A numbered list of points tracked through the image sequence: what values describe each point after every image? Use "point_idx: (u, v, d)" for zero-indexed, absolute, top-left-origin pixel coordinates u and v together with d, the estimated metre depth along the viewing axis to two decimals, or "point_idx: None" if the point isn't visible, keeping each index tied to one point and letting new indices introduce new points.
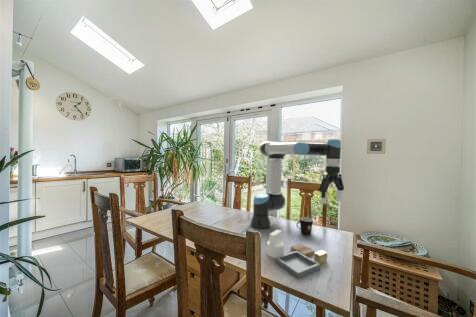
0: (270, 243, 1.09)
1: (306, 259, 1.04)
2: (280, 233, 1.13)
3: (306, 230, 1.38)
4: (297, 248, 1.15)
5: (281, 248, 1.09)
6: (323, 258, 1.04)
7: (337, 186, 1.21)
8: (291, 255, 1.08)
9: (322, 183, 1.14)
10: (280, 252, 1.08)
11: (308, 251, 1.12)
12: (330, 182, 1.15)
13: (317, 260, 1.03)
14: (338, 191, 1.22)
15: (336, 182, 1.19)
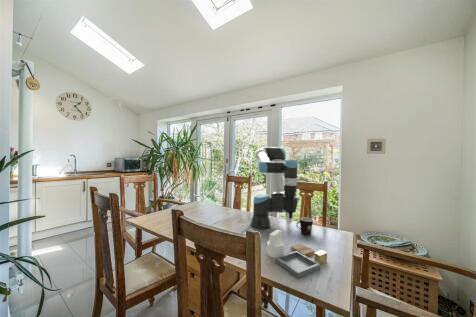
0: (270, 243, 1.09)
1: (306, 259, 1.04)
2: (280, 233, 1.13)
3: (306, 230, 1.38)
4: (297, 248, 1.15)
5: (281, 248, 1.09)
6: (323, 258, 1.04)
7: None
8: (291, 255, 1.08)
9: None
10: (280, 252, 1.08)
11: (308, 251, 1.12)
12: (286, 200, 1.24)
13: (317, 260, 1.03)
14: None
15: None
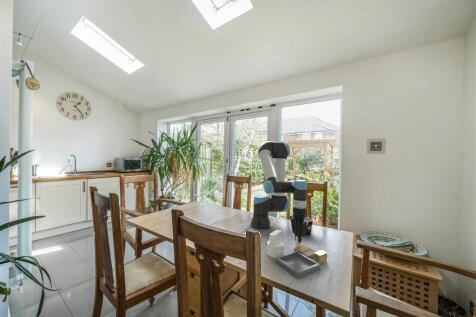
0: (270, 243, 1.09)
1: (306, 259, 1.04)
2: (280, 233, 1.13)
3: (306, 230, 1.38)
4: (300, 250, 1.13)
5: (281, 248, 1.09)
6: (323, 258, 1.04)
7: None
8: (291, 255, 1.08)
9: None
10: (280, 252, 1.08)
11: (312, 253, 1.09)
12: (295, 223, 1.17)
13: (317, 260, 1.03)
14: None
15: None
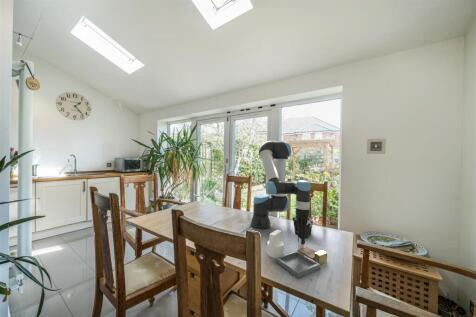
0: (270, 243, 1.09)
1: (306, 259, 1.04)
2: (280, 233, 1.13)
3: None
4: (304, 252, 1.11)
5: (281, 248, 1.09)
6: (323, 258, 1.04)
7: None
8: (291, 255, 1.08)
9: None
10: (280, 252, 1.08)
11: None
12: (298, 225, 1.16)
13: (317, 260, 1.03)
14: None
15: None
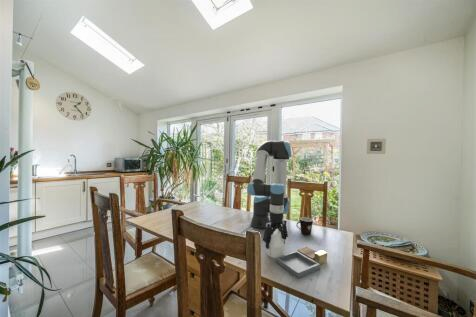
0: None
1: (306, 259, 1.04)
2: (280, 233, 1.13)
3: (306, 230, 1.38)
4: (304, 252, 1.11)
5: (281, 248, 1.09)
6: (323, 258, 1.04)
7: (281, 233, 1.14)
8: (291, 255, 1.08)
9: (265, 233, 1.08)
10: (280, 252, 1.08)
11: None
12: (273, 230, 1.09)
13: (317, 260, 1.03)
14: None
15: (280, 229, 1.13)
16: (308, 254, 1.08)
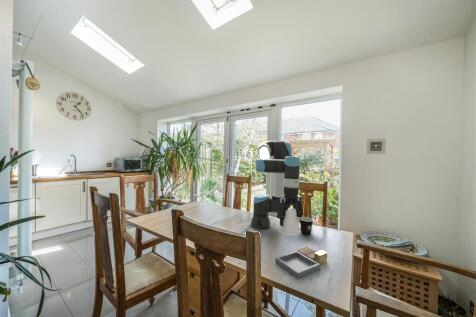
0: None
1: (306, 259, 1.04)
2: (295, 210, 1.04)
3: (306, 230, 1.38)
4: (304, 252, 1.11)
5: (296, 225, 1.00)
6: (323, 258, 1.04)
7: None
8: (291, 255, 1.08)
9: (279, 209, 1.00)
10: (295, 230, 0.99)
11: None
12: (288, 206, 1.00)
13: (317, 260, 1.03)
14: (296, 218, 1.05)
15: (294, 206, 1.04)
16: (308, 254, 1.08)
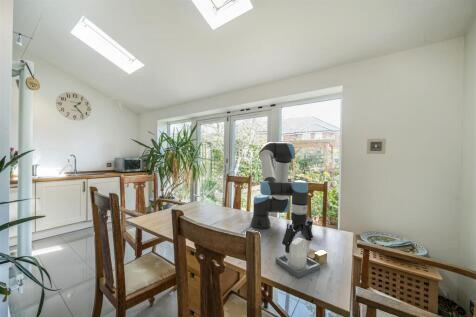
0: (292, 253, 0.97)
1: None
2: (302, 241, 1.01)
3: None
4: None
5: (304, 259, 0.97)
6: (323, 258, 1.04)
7: (305, 235, 1.03)
8: None
9: (285, 235, 0.96)
10: (303, 263, 0.97)
11: None
12: (295, 233, 0.97)
13: (317, 260, 1.03)
14: (306, 241, 1.03)
15: (303, 231, 1.01)
16: (308, 254, 1.08)
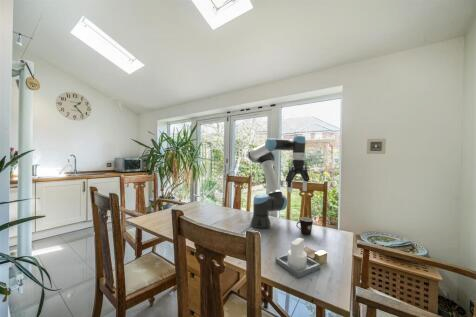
0: (292, 253, 0.97)
1: None
2: (302, 242, 1.01)
3: (306, 230, 1.38)
4: None
5: (304, 259, 0.97)
6: (323, 258, 1.04)
7: (303, 177, 1.36)
8: None
9: (288, 174, 1.29)
10: (303, 263, 0.96)
11: None
12: (295, 173, 1.30)
13: (317, 260, 1.03)
14: (304, 182, 1.37)
15: (302, 174, 1.35)
16: (308, 254, 1.08)
